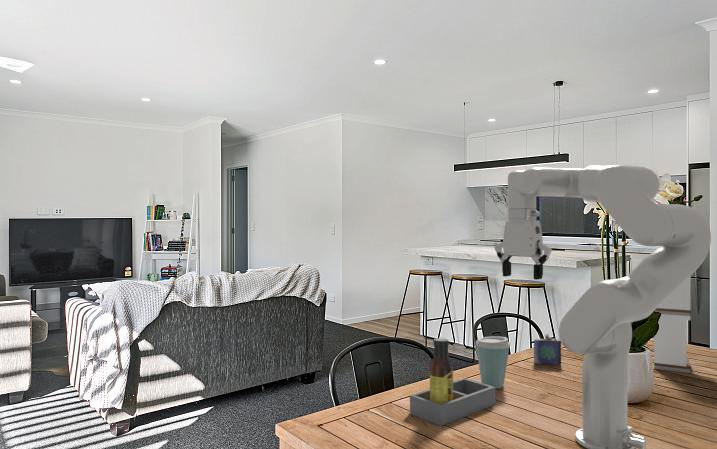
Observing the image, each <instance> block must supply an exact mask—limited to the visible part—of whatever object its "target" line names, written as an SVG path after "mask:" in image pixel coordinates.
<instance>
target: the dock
mask: <svg viewBox="0 0 717 449" xmlns="http://www.w3.org/2000/svg"><path fill="white" fill-rule="evenodd" d="M495 405H496V388H495V387H493V386H490V385H486V384H483V383H482V382H480V381H476V380H473V379H469V378H465V377H463V378H459V379H457V380H453V400H452V401H449V402H446V403H444V404H441V405H440V404H437V403H435V402H432V401H430V388H429V389H426V390H425V389H424V390H422V391H419V392H416V393H412V394H410V395H409V414H410V415H412V416H414V417H417V418H419V419H422V420H424V421H427V422H430V423H431V424H434V425H437V426H439V427H442V426H445V425H447V424H449V423H452V422H455V421H458V420H460V419H462V418H465V417H467V416H470V415H473V414H475V413H477V412H480V411H482V410H485V409H488V408H490V407H493V406H495Z"/></svg>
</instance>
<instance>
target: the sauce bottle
mask: <svg viewBox="0 0 717 449" xmlns="http://www.w3.org/2000/svg"><path fill="white" fill-rule="evenodd" d="M449 344H450V343H449V339H447V338H443V337H441V338H434V339H433V347H434V349H433V352H434V353H433V355H434V356H433V358H432V359H431V361H430V364H429V365H430V366H429V368H430V369H429V371H430V372H429V389H430V401H432V402H435V403H437V404H440V405H441V404H444V403H446V402H449V401H452V400H453V381H454V368H453V365H452V362H451V360H450V357H449V346H450V345H449Z"/></svg>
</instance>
